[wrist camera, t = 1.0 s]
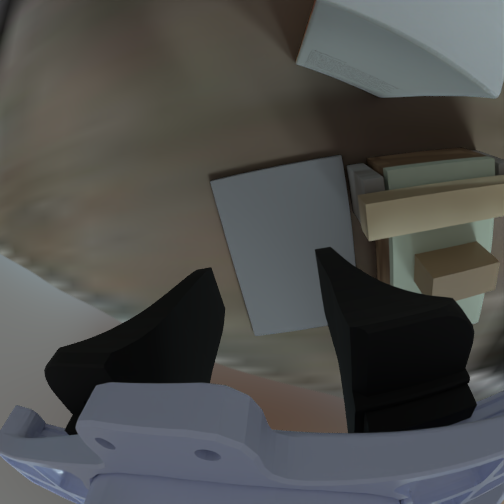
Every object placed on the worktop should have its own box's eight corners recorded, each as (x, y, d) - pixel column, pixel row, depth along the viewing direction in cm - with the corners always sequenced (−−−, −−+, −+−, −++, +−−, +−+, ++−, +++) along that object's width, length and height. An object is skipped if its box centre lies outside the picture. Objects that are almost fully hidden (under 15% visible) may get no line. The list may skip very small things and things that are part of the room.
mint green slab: (474, 316, 20) (494, 346, 17) (388, 339, 22) (401, 374, 18) (487, 156, 15) (523, 169, 11) (382, 167, 16) (407, 183, 13)
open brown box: (469, 289, 23) (492, 318, 19) (361, 315, 25) (372, 351, 21) (475, 146, 18) (510, 157, 14) (345, 161, 20) (362, 174, 16)
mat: (358, 316, 25) (358, 319, 25) (255, 333, 27) (255, 335, 26) (340, 154, 20) (341, 155, 19) (211, 180, 21) (210, 181, 21)
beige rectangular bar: (517, 201, 15) (531, 210, 13) (361, 228, 17) (368, 241, 15) (518, 173, 14) (533, 180, 12) (357, 195, 16) (365, 204, 14)
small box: (325, -28, 14) (367, -142, 2) (409, 8, 14) (520, -54, 2) (291, 65, 17) (312, -3, 6) (380, 101, 18) (504, 104, 6)
